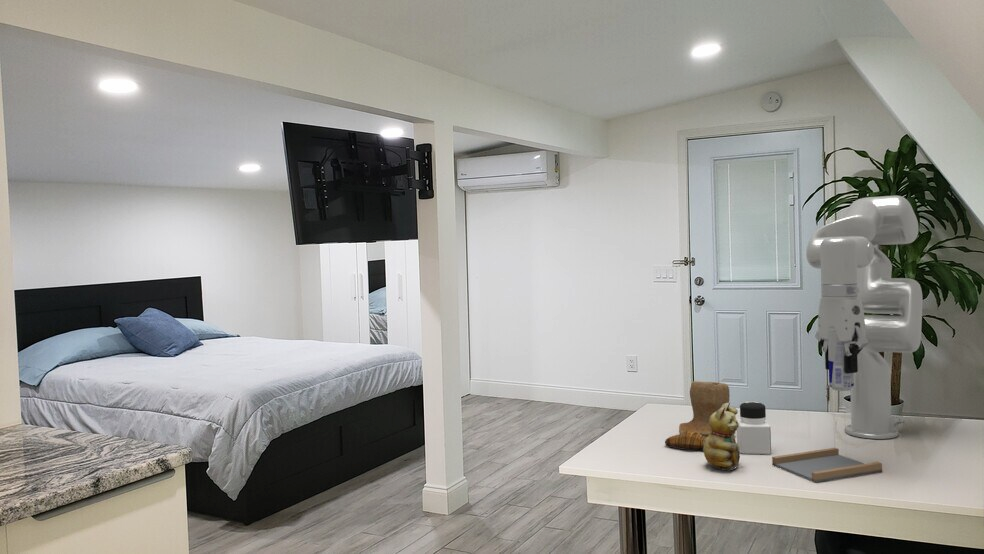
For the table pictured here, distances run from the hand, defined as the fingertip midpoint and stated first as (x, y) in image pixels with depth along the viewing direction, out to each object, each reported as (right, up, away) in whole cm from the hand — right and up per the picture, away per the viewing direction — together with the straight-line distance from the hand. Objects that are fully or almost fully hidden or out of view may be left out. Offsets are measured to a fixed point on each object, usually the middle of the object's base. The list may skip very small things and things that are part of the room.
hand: (841, 370), depth 165 cm
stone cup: (-22, -22, +33) cm, 45 cm away
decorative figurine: (-26, -23, +4) cm, 35 cm away
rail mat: (-4, -22, -1) cm, 23 cm away
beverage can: (0, -5, 0) cm, 5 cm away
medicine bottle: (-14, -23, +16) cm, 31 cm away
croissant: (-29, -23, +20) cm, 42 cm away
